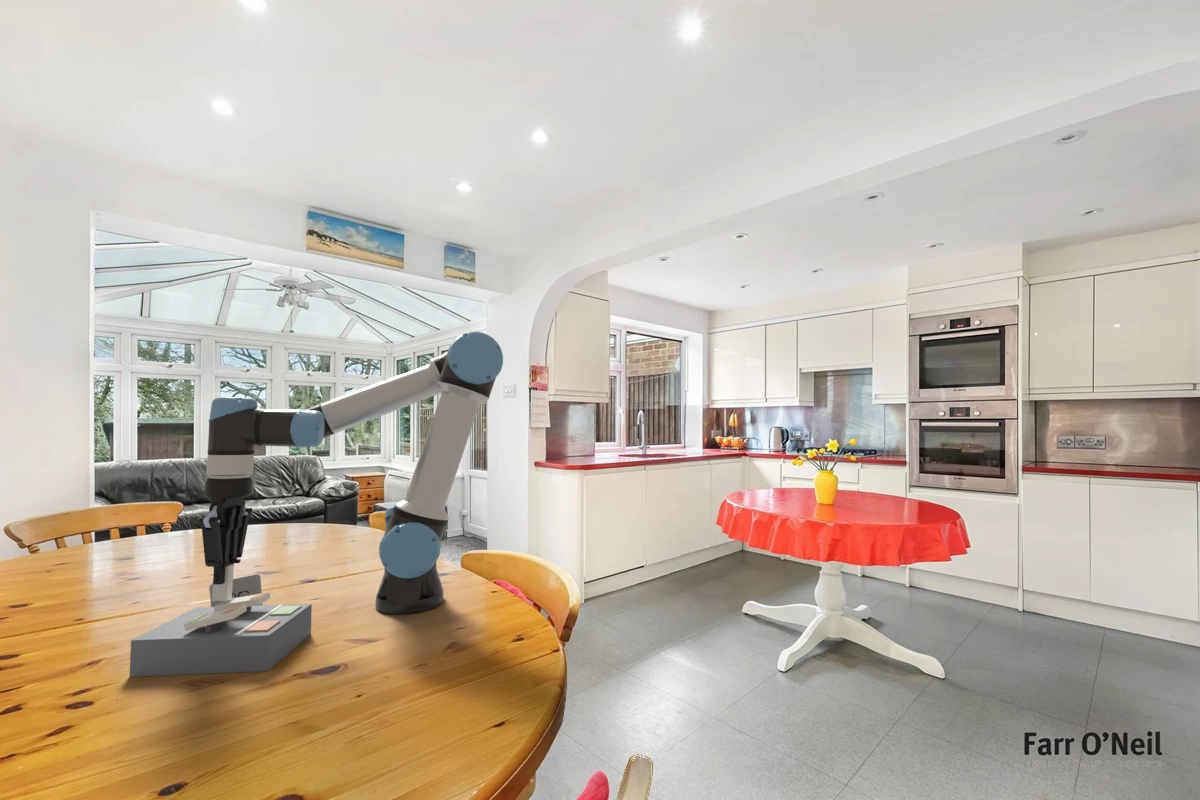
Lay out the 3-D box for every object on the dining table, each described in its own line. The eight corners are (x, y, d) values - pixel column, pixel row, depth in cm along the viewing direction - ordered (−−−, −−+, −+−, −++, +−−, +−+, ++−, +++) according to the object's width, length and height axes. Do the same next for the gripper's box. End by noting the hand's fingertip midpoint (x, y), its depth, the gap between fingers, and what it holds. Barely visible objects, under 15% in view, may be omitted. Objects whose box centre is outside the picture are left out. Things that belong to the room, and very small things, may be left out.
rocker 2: (270, 598, 103) (269, 591, 103) (259, 605, 99) (258, 597, 99) (227, 605, 102) (227, 598, 102) (214, 612, 98) (213, 605, 98)
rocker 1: (246, 610, 95) (245, 603, 95) (233, 618, 91) (231, 611, 91) (201, 622, 94) (199, 614, 94) (185, 630, 90) (183, 623, 90)
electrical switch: (212, 630, 107) (212, 584, 108) (204, 627, 110) (205, 582, 111) (263, 618, 114) (263, 574, 115) (255, 615, 118) (255, 572, 119)
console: (310, 634, 105) (311, 597, 105) (267, 671, 89) (269, 628, 90) (194, 638, 103) (196, 601, 103) (129, 676, 87) (131, 633, 88)
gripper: (230, 473, 108) (222, 589, 106) (185, 479, 95) (176, 611, 93) (268, 473, 108) (261, 589, 107) (229, 479, 95) (220, 611, 94)
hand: (221, 599), depth 100 cm, fingers closed
